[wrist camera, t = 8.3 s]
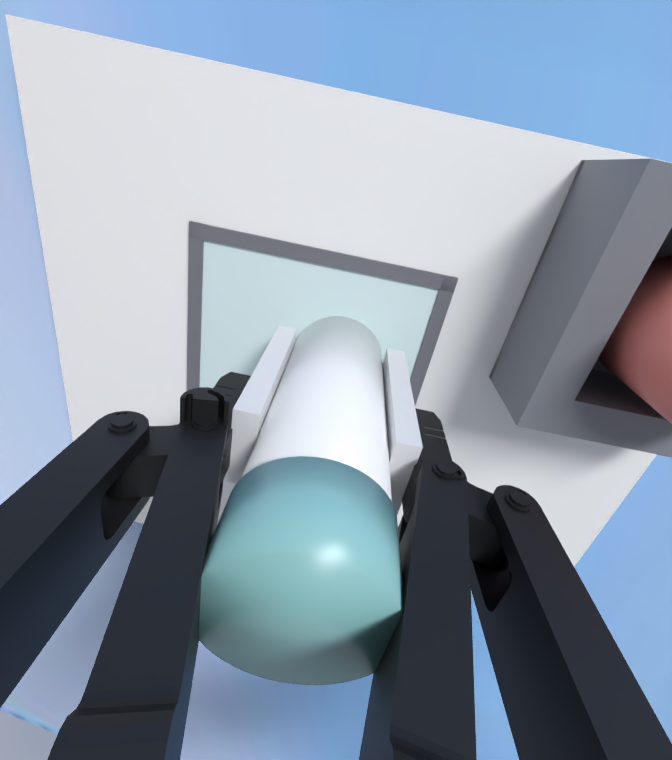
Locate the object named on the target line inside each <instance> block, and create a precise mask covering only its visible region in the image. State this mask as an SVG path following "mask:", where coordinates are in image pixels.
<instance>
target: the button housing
mask: <svg viewBox="0 0 672 760" xmlns="http://www.w3.org/2000/svg"><path fill="white" fill-rule="evenodd" d="M668 255H672V163H668V162H664V161H659V160H655V159H609V160H582V161H581V163H580V165H579V168H578V170H577V172H576V175H575V177H574V179H573V182H572V184H571V186H570V189H569V191H568V193H567V196H566V198H565V200H564V203H563V205H562V207H561V210H560V212H559V214H558V217H557V219H556V221H555V224H554V226H553V228H552V231H551V233H550V235H549V238H548V240H547V243H546V245H545V247H544V250H543V252H542V254H541V257H540V259H539V261H538V264H537V266H536V268H535V271H534V273H533V275H532V278H531V280H530V282H529V285H528V287H527V289H526V292H525V294H524V296H523V299H522V301H521V303H520V306H519V308H518V310H517V313H516V315H515V317H514V320H513V322H512V324H511V327H510V329H509V331H508V334H507V336H506V338H505V341H504V343H503V345H502V348H501V350H500V352H499V355H498V357H497V359H496V362H495V364H494V366H493V369H492V371H491V373H490V376H489V378H490V379H491V381H492V383H493V385H494V387H495V388H496V390H497V392H498V394H499V395H500V397H501V399H502V401H503V402H504V404H505V406H506V408H507V409H508V411H509V413H510V415H511V416H512V418H513V420H514V422H515V424H516V425H517V426H519V427H524V428H529V429H534V430H539V431H544V432H548V433H553V434H558V435H563V436H568V437H573V438H578V439H583V440H588V441H593V442H598V443H603V444H608V445H613V446H618V447H623V448H628V449H632V450H637V451H642V452H647V453H652V454H657V455H662V456H667V457H672V424H671V423H670V422H669V421H668V420H666V419H665V418H664V417H663V416H662V415H661V414H659V413H658V412H657V411H656V410H655V409H653V408H652V407H651V406H650V405H649V404H648V403H646V402H645V401H644V400H643V399H642V398H641V397H639V396H638V395H637V394H636V393H635V392H634V391H632V390H631V389H630V388H629V387H628V386H627V385H625V384H624V383H623V382H622V381H621V380H620V379H618V378H617V377H616V376H615V375H614V374H613V373H611V372H610V371H609V370H608V369H607V368H606V367H605V366H604V365H603V364H602V363H601V362H600V360H599V359H598V357H599V355H600V354H601V352H602V350H603V348H604V347H605V345H606V343H607V341H608V339H609V338H610V336H611V334H612V332H613V331H614V329H615V327H616V325H617V323H618V322H619V320H620V318H621V316H622V315H623V313H624V311H625V309H626V307H627V306H628V304H629V302H630V300H631V299H632V297H633V295H634V293H635V291H636V290H637V288H638V286H639V284H640V283H641V281H642V279H643V277H644V275H645V274H646V272H647V270H648V268H649V267H650V265H651V263H652V261H654V260H656V259H659V258H662V257H665V256H668Z"/></svg>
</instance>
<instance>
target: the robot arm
mask: <svg viewBox="0 0 672 760" xmlns="http://www.w3.org/2000/svg"><path fill="white" fill-rule="evenodd" d="M295 336H296V329H293V328H288V327H283V326H278V328H277V330H276V332H275V334H274V335H273V337H272V339H271V341H270V343H269V344H268V346H267V348H266V350H265V352H264V353H263V355H262V357H261V359H260V361H259V363H258V364H257V366H256V368H255V370H254V372H253V373H252V375H251V376H250V375H245V374H240V373H235V372H229V373H227V374H226V375H224V376H222V377H220V379H219V380H218V382H217V383H216V385H215V386H214V388H209V387H199V388H194V389H190V390H188V391H186V392H184V393H183V394H182V396H181V397H180V423H179V424H177V425H171V426H149V421H148V419H147V418H146V417H145V416H144V415H143V414H140V413H138V412H133V411H119V412H114V413H110V414H107V415H105V416H103V417H102V418H100V419H99V420H97V421H96V422H95V423H94V424H93V425H92V426H91V427H89V428H88V429H87V430H86V431H85V432H84V433H83V434H81V435H80V436H79V437H78V438H77V439H76V440H75V441H73V442H72V443H71V444H70V445H69V446H68V447H66V448H65V449H64V450H63V451H62V452H61V453H60V454H58V455H57V456H56V457H55V458H54V459H53V460H52V461H50V462H49V463H48V464H47V465H46V466H45V467H44V468H42V469H41V470H40V471H39V472H38V473H37V474H36V475H34V476H33V477H32V478H31V479H30V480H29V481H28V482H26V483H25V484H24V485H23V486H22V487H21V488H20V489H18V490H17V491H16V492H15V493H14V494H13V495H12V496H10V497H9V498H8V499H7V500H6V501H5V502H3V503H2V504H1V505H0V708H1V706H2V705H3V703H4V702H5V701H6V699H7V698H8V697H9V695H10V694H11V692H12V691H13V690H14V688H15V687H16V685H17V684H18V683H19V681H20V680H21V678H22V677H23V676H24V674H25V673H26V671H27V670H28V669H29V667H30V666H31V664H32V663H33V662H34V660H35V659H36V657H37V656H38V655H39V653H40V652H41V650H42V649H43V648H44V646H45V645H46V643H47V642H48V641H49V639H50V638H51V636H52V635H53V634H54V632H55V631H56V629H57V628H58V627H59V625H60V624H61V622H62V621H63V620H64V618H65V617H66V615H67V614H68V613H69V611H70V610H71V608H72V607H73V606H74V604H75V603H76V601H77V600H78V599H79V597H80V596H81V594H82V593H83V592H84V590H85V589H86V587H87V586H88V585H89V583H90V582H91V580H92V579H93V578H94V576H95V575H96V573H97V572H98V571H99V569H100V568H101V567H102V565H103V564H104V562H105V561H106V560H107V558H108V557H109V555H110V554H111V553H112V551H113V550H114V548H115V547H116V546H117V544H118V543H119V541H120V540H121V539H122V537H123V536H124V534H125V533H126V532H127V530H128V529H129V527H130V526H131V525H132V523H133V522H134V520H135V519H136V518H137V516H138V515H139V513H140V512H141V511H142V509H143V508H144V506H145V505H146V504H147V502H148V501H149V499H150V497H153V499H152V502H151V505H150V508H149V511H148V513H147V516H146V519H145V522H144V525H143V528H142V530H141V533H140V536H139V539H138V542H137V545H136V547H135V550H134V553H133V556H132V559H131V562H130V564H129V567H128V570H127V573H126V576H125V579H124V581H123V584H122V587H121V590H120V593H119V596H118V598H117V601H116V604H115V607H114V610H113V613H112V615H111V618H110V621H109V624H108V627H107V630H106V633H105V635H104V638H103V641H102V644H101V647H100V650H99V652H98V655H97V658H96V661H95V664H94V667H93V669H92V672H91V675H90V678H89V681H88V684H87V686H86V689H85V692H84V694H83V697H82V699H81V702H80V704H79V705H78V707H77V709H76V710H74V711H73V712H72V713H71V714H70V715H69V716H67V718H66V720H65V722H64V723H63V725H62V727H61V728H60V730H59V733H58V735H57V738H56V740H55V742H54V745H53V747H52V749H51V752H50V755H49V757H48V760H180V755H181V749H182V743H183V736H184V730H185V724H186V717H187V711H188V705H189V699H190V692H191V686H192V680H193V673H194V667H195V661H196V655H197V648H198V642H199V639H198V638H199V617H200V597H201V576H202V572H203V567H204V563H205V558H206V554H207V550H208V546H209V544H210V541H211V539H212V536H213V534H214V532H215V529H216V527H217V523H218V516H219V510H220V504H221V498H222V491H223V480H224V477H225V475H226V473H227V471H228V474H227V482H232V483H237V482H238V481H239V480H240V479H241V477H242V475H243V472H244V470H245V467H246V465H247V462H248V460H249V458H250V455H251V453H252V450H253V448H254V445H255V443H256V440H257V438H258V435H259V433H260V430H261V428H262V425H263V423H264V420H265V418H266V415H267V413H268V410H269V408H270V405H271V403H272V400H273V398H274V396H275V393H276V391H277V388H278V386H279V383H280V381H281V378H282V376H283V373H284V371H285V368H286V366H287V363H288V361H289V358H290V356H291V353H292V351H293V348H294V342H295ZM382 365H383V380H384V394H385V409H386V423H387V438H388V452H389V467H390V481H391V495H392V503H393V505H394V508H395V511H396V515H398V512H399V509H400V507H401V504H402V506H403V516H402V519H401V521H400V524H399V526H398V534H399V547H400V559H401V571H402V585H403V613H402V615H401V617H400V619H399V622H398V624H397V626H396V628H395V630H394V632H393V634H392V637H391V639H390V641H389V643H388V645H387V647H386V649H385V652H384V654H383V656H382V658H381V660H380V662H379V665H378V667H377V669H376V671H375V673H374V674H373V680H372V686H371V692H370V698H369V704H368V710H367V715H366V721H365V727H364V733H363V739H362V745H361V751H360V756H359V760H476V734H475V704H474V674H473V644H472V614H471V591H472V594H473V598H474V601H475V605H476V608H477V612H478V615H479V619H480V622H481V626H482V629H483V633H484V636H485V640H486V644H487V647H488V651H489V654H490V658H491V661H492V665H493V668H494V672H495V675H496V679H497V682H498V686H499V689H500V693H501V696H502V700H503V704H504V707H505V711H506V714H507V718H508V721H509V725H510V728H511V732H512V735H513V739H514V742H515V746H516V749H517V753H518V756H519V760H672V744H671V742H670V740H669V738H668V737H667V735H666V733H665V731H664V729H663V728H662V726H661V724H660V722H659V720H658V718H657V717H656V715H655V713H654V711H653V709H652V708H651V706H650V704H649V702H648V700H647V698H646V697H645V695H644V693H643V691H642V689H641V688H640V686H639V684H638V682H637V680H636V679H635V677H634V675H633V673H632V671H631V669H630V668H629V666H628V664H627V662H626V660H625V659H624V657H623V655H622V653H621V651H620V650H619V648H618V646H617V644H616V642H615V640H614V639H613V637H612V635H611V633H610V631H609V630H608V628H607V626H606V624H605V622H604V621H603V619H602V617H601V615H600V613H599V611H598V610H597V608H596V606H595V604H594V602H593V601H592V599H591V597H590V595H589V593H588V592H587V590H586V588H585V586H584V584H583V582H582V581H581V579H580V577H579V575H578V573H577V572H576V570H575V568H574V566H573V564H572V563H571V561H570V559H569V557H568V555H567V553H566V552H565V550H564V548H563V546H562V544H561V543H560V541H559V539H558V537H557V535H556V534H555V532H554V530H553V528H552V526H551V524H550V523H549V521H548V519H547V517H546V515H545V514H544V512H543V510H542V508H541V506H540V505H539V504H538V502H537V501H536V500H535V499H534V498H533V497H532V496H531V495H530V494H528V493H527V492H525V491H524V490H522V489H520V488H517V487H514V486H511V485H501V486H498V487H496V489H495V491H494V493H490V492H488V491H486V490H483V489H481V488H479V487H476V486H474V485H472V484H470V483H469V482H467V477H466V474H465V472H464V471H463V470H462V468H461V467H460V466H459V465H457V464H456V463H454V462H453V461H452V458H451V454H450V451H449V447H448V444H447V440H446V439H445V438H446V437H445V433H444V432H443V426H442V423H441V420H440V419H439V418H438V417H437V416H436V415H435V413H434V412H431V411H426V410H421V409H416V408H415V404H414V399H413V394H412V389H411V384H410V378H409V373H408V368H407V363H406V358H405V352H403V351H398V350H394V349H389V348H387V350H386V353H385V357H384V361H383V364H382Z"/></svg>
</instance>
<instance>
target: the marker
mask: <svg viewBox="0 0 672 760" xmlns="http://www.w3.org/2000/svg"><path fill="white" fill-rule="evenodd" d="M402 613H403V585H402V571H401V559H400V547H399V534H398V522H397V515H396V511H395V508H394V505H393V503H392V495H391V481H390V467H389V452H388V438H387V423H386V409H385V394H384V380H383V365H382V352H381V348H380V344H379V342H378V340H377V338H376V336H375V335H374V334H373V332H372V331H371V330H370V329H369V328H368V327H366V326H365V325H364V324H362V323H361V322H359V321H357V320H354V319H352V318H348V317H343V316H330V317H325V318H321V319H319V320H316V321H314V322H313V323H311V324H310V325H308V326H307V327H306V328H305V329H304V330H303V331H302V332H301V334H300V335H299V337H298V339H297V341H296V343H295V346H294V348H293V351H292V353H291V356H290V358H289V361H288V363H287V366H286V368H285V371H284V373H283V376H282V378H281V381H280V383H279V386H278V388H277V391H276V393H275V396H274V398H273V400H272V403H271V405H270V408H269V410H268V413H267V415H266V418H265V420H264V423H263V425H262V428H261V430H260V433H259V435H258V438H257V440H256V443H255V445H254V448H253V450H252V453H251V455H250V458H249V460H248V462H247V465H246V467H245V470H244V472H243V475H242V477H241V479H240V480H239V481H238V482H237V484H236V485H235V486H234V488H233V490H232V491H231V493H230V496H229V498H228V500H227V503H226V505H225V508H224V510H223V512H222V515H221V517H220V520H219V522H218V524H217V527H216V529H215V532H214V534H213V536H212V539H211V541H210V544H209V546H208V550H207V554H206V558H205V563H204V567H203V572H202V576H201V597H200V617H199V638H198V639H199V641H200V642H201V643H202V644H203V645H204V646H205V647H206V648H207V649H208V650H210V651H211V652H212V653H213V654H215V655H216V656H217V657H219V658H220V659H222V660H223V661H225V662H227V663H229V664H230V665H232V666H234V667H236V668H238V669H241V670H243V671H245V672H248V673H250V674H253V675H256V676H259V677H263V678H266V679H270V680H275V681H279V682H285V683H292V684H303V685H326V684H336V683H343V682H348V681H352V680H356V679H359V678H362V677H365V676H368V675H370V674H372V673H375V671H376V669H377V667H378V665H379V662H380V660H381V658H382V656H383V654H384V652H385V649H386V647H387V645H388V643H389V641H390V639H391V637H392V634H393V632H394V630H395V628H396V626H397V624H398V622H399V619H400V617H401V615H402Z"/></svg>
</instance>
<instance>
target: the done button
mask: <svg viewBox="0 0 672 760" xmlns="http://www.w3.org/2000/svg"><path fill="white" fill-rule="evenodd" d="M598 359H599V360H600V362H601V363H602V364H603V365H604V366H605V367H606V368H607V369H608V370H609V371H610V372H611V373H613V374H614V375H615V376H616V377H617V378H618V379H620V380H621V381H622V382H623V383H624V384H625V385H627V386H628V387H629V388H630V389H631V390H632V391H634V392H635V393H636V394H637V395H638V396H639V397H641V398H642V399H643V400H644V401H645V402H646V403H648V404H649V405H650V406H651V407H652V408H653V409H655V410H656V411H657V412H658V413H659V414H661V415H662V416H663V417H664V418H665V419H666V420H668V421H669V422H670V423H671V424H672V255H668V256H665V257H662V258H659V259H656V260H654V261H652V263H651V265H650V267H649V268H648V270H647V272H646V274H645V275H644V277H643V279H642V281H641V283H640V284H639V286H638V288H637V290H636V291H635V293H634V295H633V297H632V299H631V300H630V302H629V304H628V306H627V307H626V309H625V311H624V313H623V315H622V316H621V318H620V320H619V322H618V323H617V325H616V327H615V329H614V331H613V332H612V334H611V336H610V338H609V339H608V341H607V343H606V345H605V347H604V348H603V350H602V352H601V354H600V355H599V357H598Z"/></svg>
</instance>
